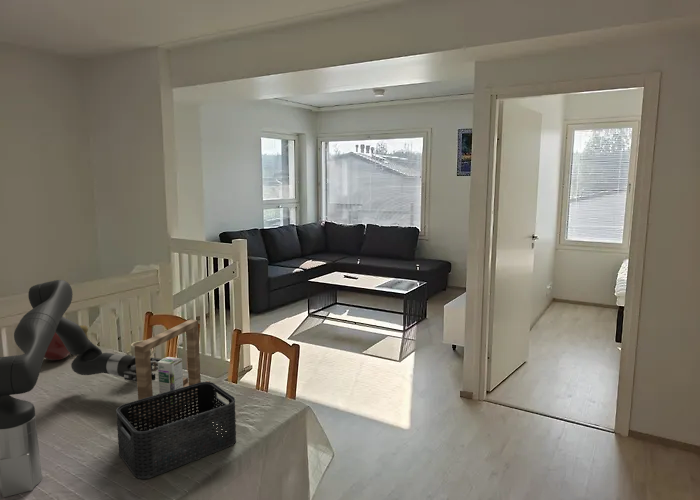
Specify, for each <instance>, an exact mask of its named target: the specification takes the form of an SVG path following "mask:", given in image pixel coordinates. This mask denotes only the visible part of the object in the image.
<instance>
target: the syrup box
mask: <svg viewBox="0 0 700 500" xmlns="http://www.w3.org/2000/svg"><path fill="white" fill-rule="evenodd" d="M161 359H162V360H160V361H159V362H158V366H157V367H158V369H157V373H158V374H157V376H158V388H159V389H158V391H159V393H158V394H161V393H165V392H168V391H172V390H176V389H179V388H183V378H184V376H183V359H182V358H181V357H180V358H178V357H171V356H167V357H164V358H161ZM179 395H181V394H179ZM175 396H177V395H175ZM171 397H172V396H171ZM183 397H184V396H183ZM179 398H181V397H179ZM166 399H167V398H166ZM175 399H177V398H175ZM162 400H164V399H162ZM172 400H173V399H172ZM166 402H168V401H166ZM176 402H177V401H176ZM176 402H175V403H176ZM162 403H164V402H162ZM171 404H172V403H171Z"/></svg>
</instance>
